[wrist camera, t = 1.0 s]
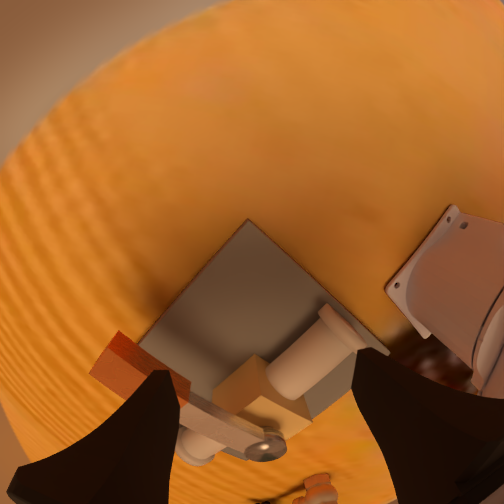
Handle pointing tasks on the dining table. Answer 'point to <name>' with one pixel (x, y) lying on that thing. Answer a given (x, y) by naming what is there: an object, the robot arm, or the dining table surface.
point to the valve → (317, 491)
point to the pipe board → (257, 341)
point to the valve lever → (185, 401)
